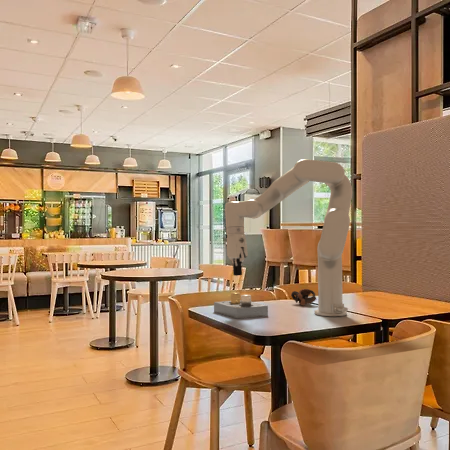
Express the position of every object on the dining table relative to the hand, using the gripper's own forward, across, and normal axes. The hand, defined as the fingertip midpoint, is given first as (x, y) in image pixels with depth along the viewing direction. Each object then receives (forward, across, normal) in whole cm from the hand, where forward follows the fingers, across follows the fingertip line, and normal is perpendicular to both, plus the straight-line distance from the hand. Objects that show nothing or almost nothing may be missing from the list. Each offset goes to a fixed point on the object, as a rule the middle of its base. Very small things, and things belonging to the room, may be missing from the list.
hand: (237, 275), depth 196 cm
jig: (+15, -3, +1) cm, 16 cm away
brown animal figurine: (+17, +5, -36) cm, 41 cm away
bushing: (+15, +1, +1) cm, 15 cm away
